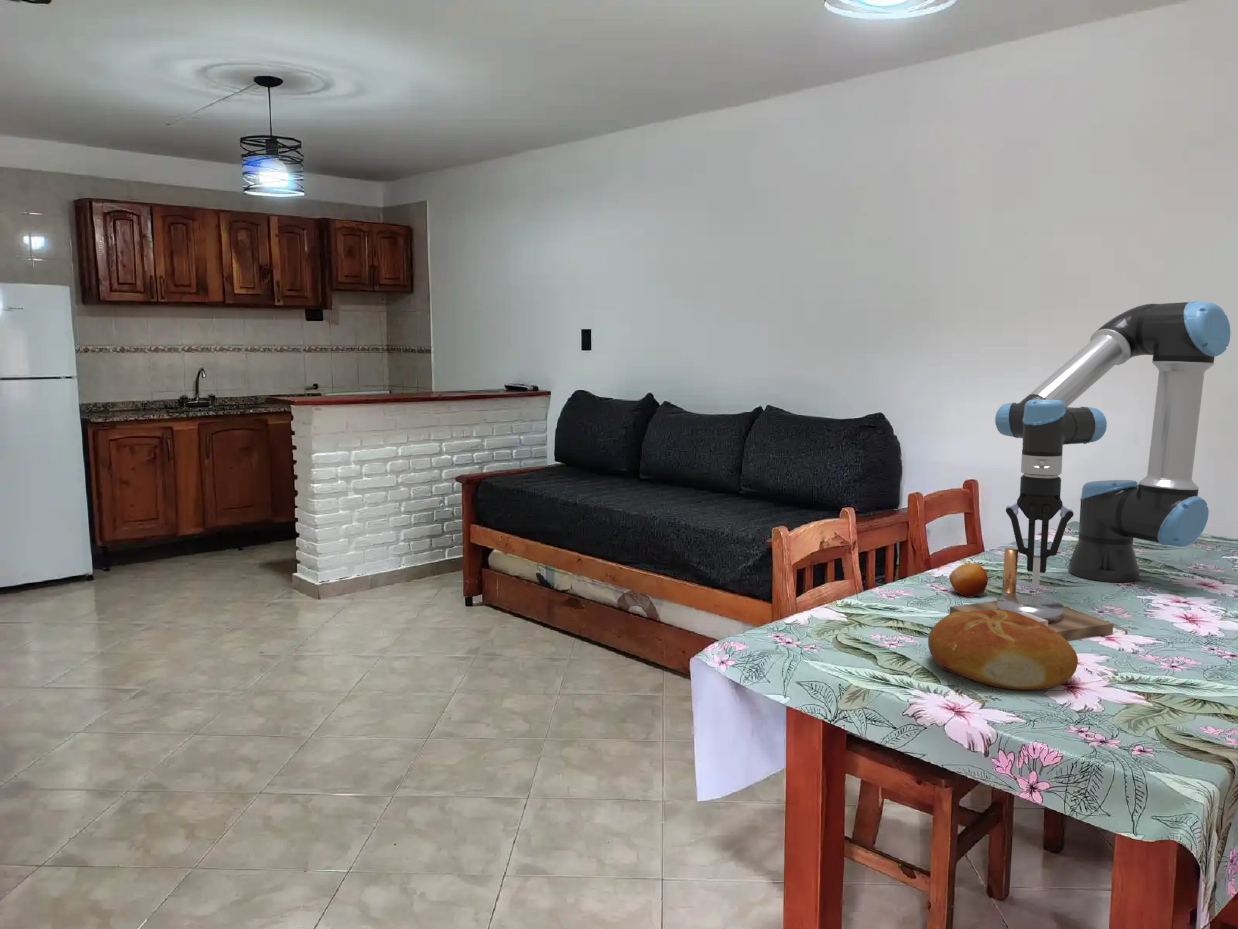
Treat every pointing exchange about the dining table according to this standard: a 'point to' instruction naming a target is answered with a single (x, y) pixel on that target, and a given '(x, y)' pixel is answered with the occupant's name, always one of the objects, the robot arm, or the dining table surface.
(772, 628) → the dining table surface
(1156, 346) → the robot arm
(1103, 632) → the board
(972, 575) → the fruit
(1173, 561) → the dining table surface
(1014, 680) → the bread
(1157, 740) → the dining table surface
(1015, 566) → the cam disc
